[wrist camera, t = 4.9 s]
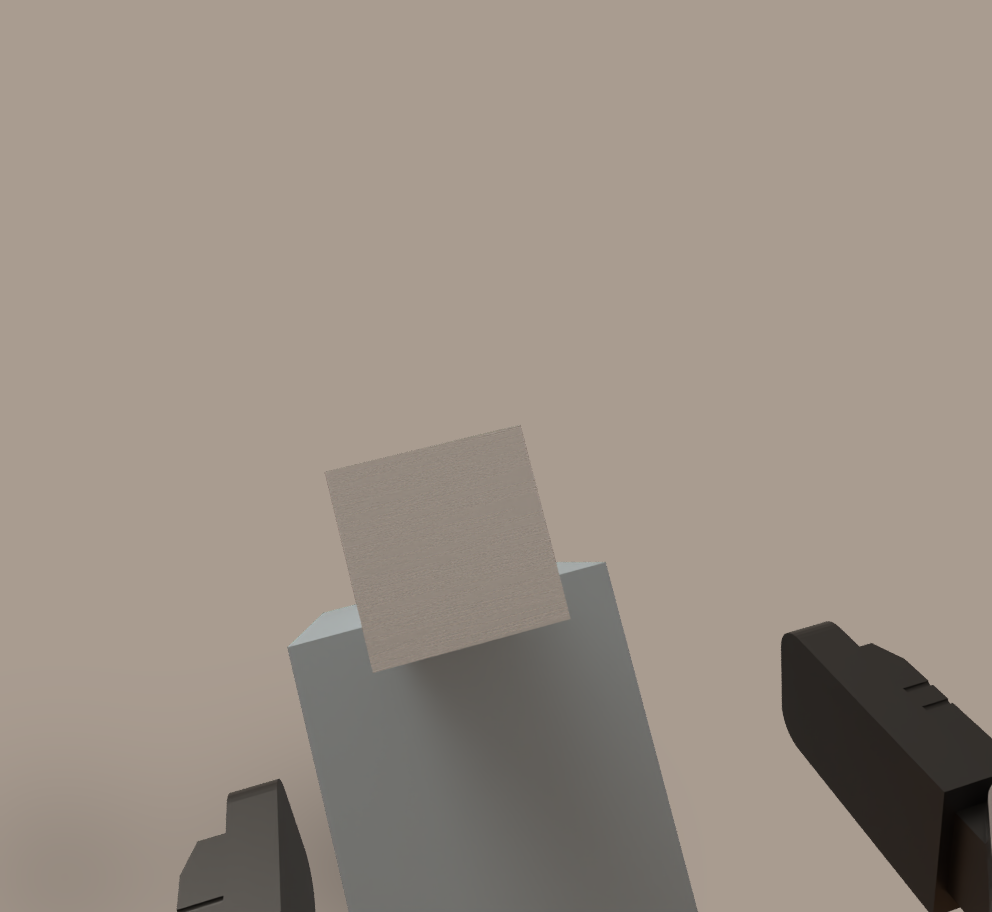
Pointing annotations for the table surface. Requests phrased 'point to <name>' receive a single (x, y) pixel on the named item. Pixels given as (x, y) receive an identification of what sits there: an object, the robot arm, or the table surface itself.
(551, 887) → the stand
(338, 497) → the shaft
